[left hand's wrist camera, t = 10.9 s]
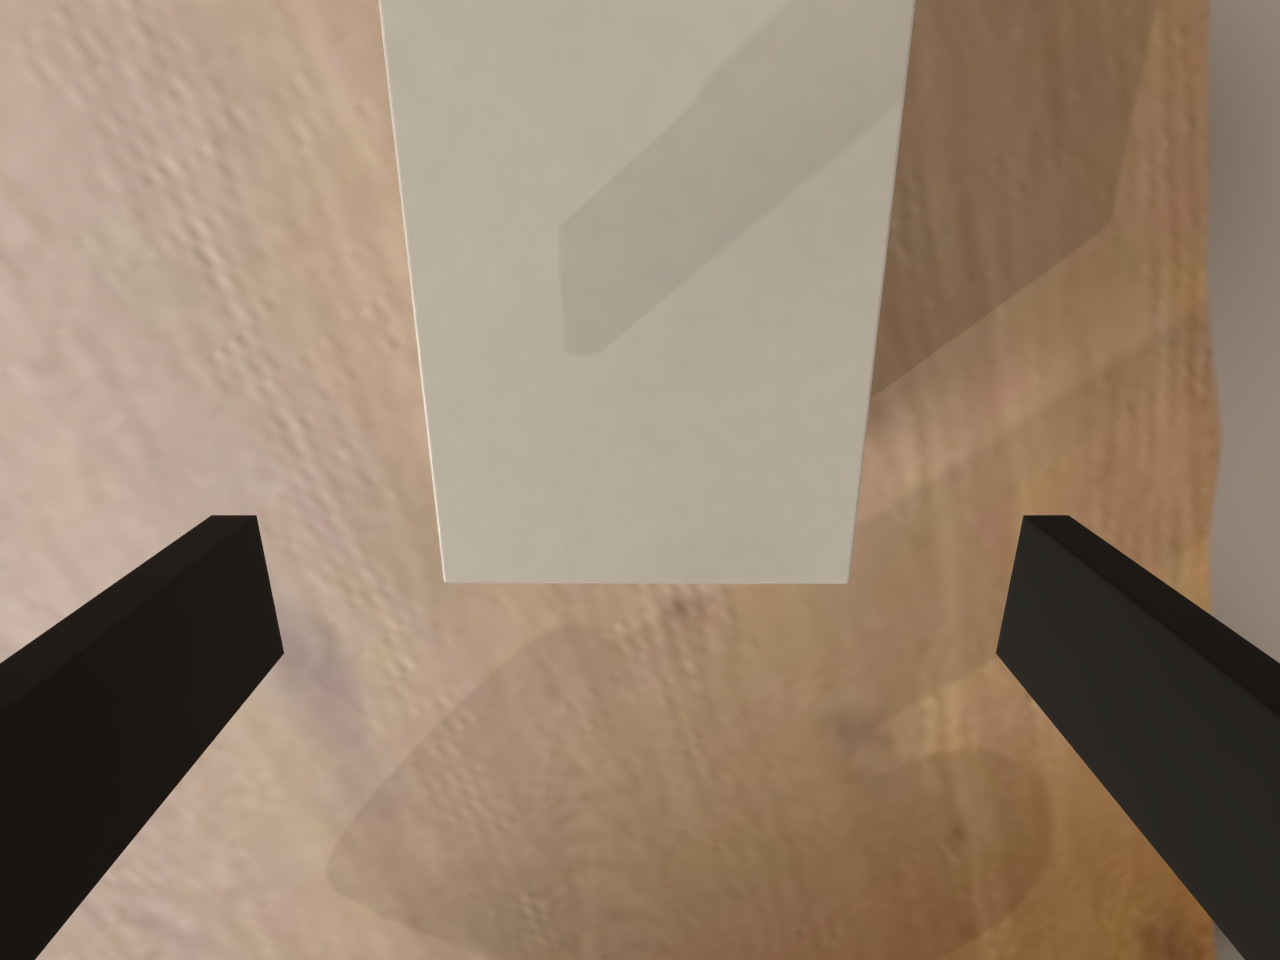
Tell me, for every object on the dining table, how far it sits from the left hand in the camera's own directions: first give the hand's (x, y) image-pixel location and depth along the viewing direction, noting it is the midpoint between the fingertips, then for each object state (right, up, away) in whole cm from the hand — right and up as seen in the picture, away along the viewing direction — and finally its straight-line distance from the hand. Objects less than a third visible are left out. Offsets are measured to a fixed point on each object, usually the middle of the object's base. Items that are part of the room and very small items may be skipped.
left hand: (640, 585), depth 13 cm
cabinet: (0, +10, +11) cm, 15 cm away
